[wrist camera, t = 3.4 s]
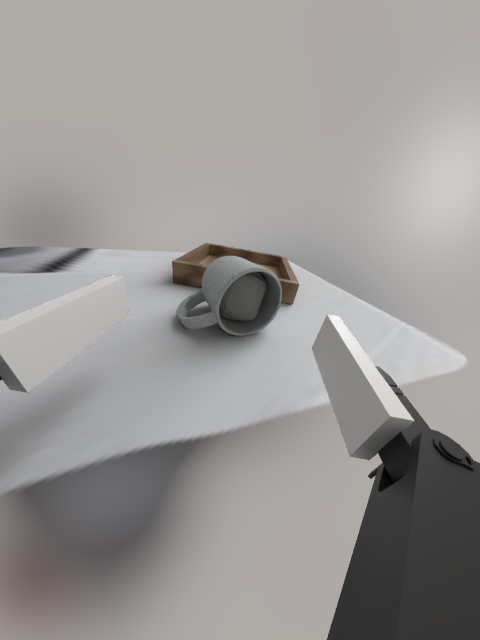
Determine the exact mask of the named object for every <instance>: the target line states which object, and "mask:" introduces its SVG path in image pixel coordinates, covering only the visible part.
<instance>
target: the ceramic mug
mask: <svg viewBox="0 0 480 640" xmlns="http://www.w3.org/2000/svg"><path fill="white" fill-rule="evenodd" d="M281 300H282V288H281V284H280V282H279V279H278V278H277V276H276V275H275V274H274V273H273V272H271V271H270V270H268V269H266V268H264V267H261V266H259V265H256V264H254V263H252V262H250V261H248V260H246V259H243V258H241V257H237V256H223V257H220V258H218V259H216V260H214V261H213V262H212V263H211V264H210V265H209V266H208V267H207V268H206V270H205V272H204V275H203V278H202V290H201V291H199V292H197V293H195V294H193V295H191V296H189V297H188V298H186V299H185V300H184V301H183V302H182V303H181V304H180V305H179V307H178V309H177V316H178V318H179V320H180V321H181V323H182V325H183V326H184V327H186V328H188V329H202V328H205V327H209V326H212V325H214V324H219V326H220V327H221V328H222V329H223V330H224V331H225V332H227V333H229V334H231V335H236V336H246V335H251V334H254V333H256V332H258V331H260V330H262V329H263V328H264V327H266V326H267V325H268V324H269V323H270V322H271V321H272V320H273V318H274V317H275V315H276V314H277V312H278V309H279V307H280V304H281ZM204 301H206V302H207V303H208V305H209V307H210V309H211V311H210V312H208V313H206V314H202V315H199V316H195V317H187V314H188V311H189V310H190V309H191V308H193V307H195V306H196V305H198V304H200V303H202V302H204Z"/></svg>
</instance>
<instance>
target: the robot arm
mask: <svg viewBox="0 0 480 640" xmlns="http://www.w3.org/2000/svg"><path fill="white" fill-rule="evenodd" d="M129 315H130V310H129V305H128V300H127V295H126V290H125V285H124V279H123V277H119V276H113V275H111V276H108V277H106V278H104V279H101V280H99V281H96V282H94V283H91V284H89V285H87V286H84V287H82V288H79V289H77V290H75V291H72V292H70V293H67V294H65V295H63V296H60V297H58V298H55V299H53V300H51V301H48V302H46V303H43V304H41V305H39V306H36V307H34V308H31V309H29V310H26V311H24V312H22V313H19V314H17V315H14V316H12V317H10V318H7V319H5V320H2V321H0V380H3V381H4V382H5V384H6V385H7V386H8V387H9V389H11V390H16V391H21V392H26V393H29V392H30V391H31V390H32V389H34V388H35V387H36V386H38V385H39V384H40V383H42V382H43V381H44V380H45V379H47V378H48V377H49V376H51V375H52V374H53V373H55V372H56V371H57V370H59V369H60V368H61V367H62V366H64V365H65V364H66V363H68V362H69V361H70V360H72V359H73V358H74V357H75V356H77V355H78V354H79V353H81V352H82V351H83V350H85V349H86V348H87V347H88V346H90V345H91V344H92V343H94V342H95V341H96V340H98V339H99V338H100V337H101V336H103V335H104V334H105V333H107V332H108V331H109V330H111V329H112V328H113V327H115V326H116V325H117V324H118V323H120V322H121V321H122V320H124V319H125V318H126V317H128V316H129ZM312 350H313V353H314V356H315V359H316V362H317V365H318V367H319V370H320V373H321V376H322V379H323V382H324V384H325V387H326V390H327V393H328V396H329V399H330V401H331V404H332V407H333V410H334V413H335V415H336V418H337V421H338V424H339V427H340V430H341V432H342V435H343V438H344V441H345V444H346V447H347V449H348V452H349V455H350V456H351V457H356V458H361V459H367V460H370V459H371V458H372V457H374V456H375V455H376V454H377V453H379V456H380V458H381V460H382V462H383V463H382V464H381V465H379V466H378V467H377V468H376V469H374V470H373V471H372V472H371V473H370V474H369V475H368V477H369V478H370V479H371V478H373V477H374V476H376V477H375V480H374V484H373V487H372V490H371V494H370V497H369V500H368V504H367V507H366V510H365V514H364V517H363V521H362V524H361V527H360V531H359V534H358V537H357V541H356V544H355V548H354V551H353V554H352V557H351V561H350V564H349V568H348V571H347V574H346V578H345V581H344V584H343V588H342V591H341V594H340V598H339V601H338V604H337V608H336V611H335V614H334V618H333V621H332V624H331V628H330V631H329V634H328V638H327V640H480V463H478V462H476V461H474V460H473V459H472V458H471V456H470V455H469V454H468V453H467V452H466V451H465V450H464V449H463V448H462V447H461V446H460V445H459V444H458V443H456V442H455V441H453V440H452V439H451V438H449V437H448V436H446V435H444V434H442V433H440V432H438V431H434V430H431V429H430V428H429V426H428V425H427V424H426V422H425V421H424V420H423V419H422V417H421V416H420V415H419V413H418V412H417V411H416V409H415V408H414V407H413V406H412V404H411V403H410V402H409V400H408V399H407V398H406V396H404V395H403V393H402V391H401V390H400V389H399V388H397V385H396V383H395V382H394V381H393V380H392V378H391V377H390V376H389V375H388V374H387V373H386V372H384V371H383V370H382V369H381V368H380V367H376V366H375V365H374V364H373V363H372V361H371V360H370V359H369V357H368V356H367V354H366V353H365V352H364V350H363V349H362V347H361V346H360V345H359V343H358V342H357V341H356V339H355V338H354V336H353V335H352V334H351V332H350V331H349V329H348V328H347V327H346V325H345V324H344V323H343V321H342V320H341V318H340V317H338V316H333V315H327V316H326V318H325V320H324V322H323V325H322V327H321V329H320V331H319V333H318V335H317V338H316V340H315V342H314V344H313V346H312Z"/></svg>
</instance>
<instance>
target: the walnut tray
mask: <svg viewBox="0 0 480 640" xmlns="http://www.w3.org/2000/svg"><path fill="white" fill-rule="evenodd" d="M223 256H237V257H241V258H243V259H246V260H248V261H250V262H252V263H254V264H256V265H259V266H261V267H264V268H266V269H268V270H270V271H271V272H273V273H274V274H275V275H276V276H277V278H278V279H279V282H280V284H281V288H282V300H281V302H282V303H288V304H293V302H294V299H295V296H296V293H297V290H298V287H299V283H298V281H297V279H296V277H295V275H294V273H293V271H292V269H291V267H290V265H289V263H288V261H287V259H286V257H284V256H278V255H272V254H267V253H261V252H256V251H250V250H244V249H238V248H233V247H227V246H222V245H216V244H210V243H205V244H203V245H202V246H200V247H198V248H196V249H194V250H192V251H190V252H189V253H187V254H185V255H183V256H181V257H179V258H178V259H176V260H174V261H172V267H173V283H178V284H183V285H189V286H194V287H200V288H202V278H203V275H204V272H205V270H206V268H207V267H208V266H209V265H210V264H211V263H212V262H213V261H214V260H216V259H218V258H220V257H223Z"/></svg>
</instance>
